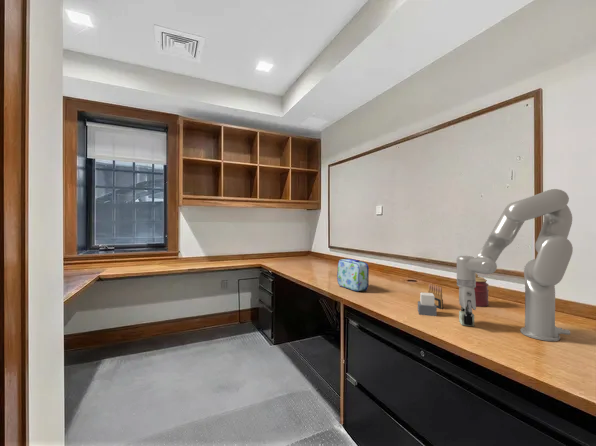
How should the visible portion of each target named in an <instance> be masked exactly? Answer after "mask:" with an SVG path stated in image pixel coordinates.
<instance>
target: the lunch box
mask: <svg viewBox="0 0 596 446" xmlns="http://www.w3.org/2000/svg"><path fill="white" fill-rule="evenodd" d="M369 269H370V268H369V264H368V263H367V262H364V261H361V260H360V259H359V260H358V259H352V258H344V259H343V258H342V259H339V260H338V263H337V275H336V277H337V278H336V279H337V284H338V286H339V287H341V288H345V289H348V290H352V291H353V292H359V291H360V292H361V291H362V292H363V291H367V290H368V288H369V284H370V283H369V282H370V281H369V278H370V277H369V276H370V275H369V272H370V271H369Z"/></svg>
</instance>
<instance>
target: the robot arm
mask: <svg viewBox="0 0 596 446" xmlns="http://www.w3.org/2000/svg"><path fill="white" fill-rule="evenodd" d="M569 201H570V197H569V195H568V193H567V192H566V191H565V190H562V189H558V188H553V189H548V190H545V191H542V192H540V193H537V194H534V195H531V196H529V197H526V198H523V199H519V200H516V201H513V202H510V203H509V204H507V206H505V208H504V210H503V211H502V213H501V215H500V216H499V218H498V219H497V221H496V224H495V225H494V227H493V229H492V230H491V232H490V234H489V236H488V237H487V239H486V241H485V242H484V244H483V246H482V247H481V249H480V251H479V253H478V255H477V256H476V257H475V256H470V255H459V256H457V257H456V286H457V287H458V302H459V306H460V311H465V315H464V324H465V325H464V326H466V325H472V313H473V310H474V311H476V310H477V306H476V300H475V290H474V288H475V287H476V274H483V275H491V274H493V273H495V272H496V271H497V268H498V264H497V260H498V259H499V257H500V255H501V254H502V252H503V251H504V250H505V249H506V248H507V247H508V246H510V245H511V244H512V243H513V242H514V240H515V238H516V237H517V235H518V233H519V232H520V230H521V228H522V227H523V225H524V223H525V221H529V220H532V219H536V218H539V217H542V216H543V222H542V223H543V224H542V225H541V229H540V232H539V234H538V236H537V239H536V241H535V244H534V247H535V248H534V249H535V251H536V252H537V254H536V257H535V259H532V260H529V261H528V262H527V263H526V264H525V265H524V267H523V268H524V269H523V277H524V327H521V328H520V330H519V331H520V333H521V334H522V335H524V336H526V337H529V338H532V339H535V340H539V341H544V342H545V341H546V342H558V341H560V340H561V335H566V336H570V335H571V331H570V329H563V328H562V327H557V326H556V288H555V286H556V285H558V284H560V282H561V281H562V280H563V277H564V275H565V274H566V270H567V268H568V266H569V263H570V261H571V258H572V255H573V253H574V252H573V244H572V242H571V241H570V240H569V239H568V237H569V234H570V231H571V227H572V224H573V213H572V212H571V211H572V210H571V209H570V207H569V206H568V204H569ZM466 311H467V312H466Z"/></svg>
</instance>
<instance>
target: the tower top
mask: <svg viewBox="0 0 596 446" xmlns="http://www.w3.org/2000/svg"><path fill="white" fill-rule="evenodd" d="M419 296H420V297H419V300H420V302H421V305H429V306H434V295H433V293H428V292H420V295H419Z"/></svg>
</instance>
